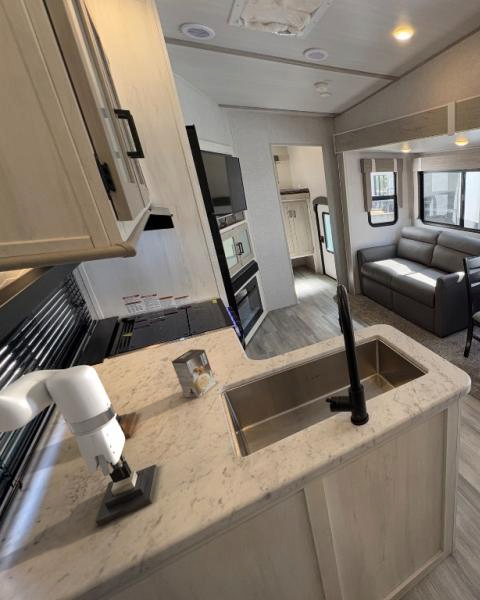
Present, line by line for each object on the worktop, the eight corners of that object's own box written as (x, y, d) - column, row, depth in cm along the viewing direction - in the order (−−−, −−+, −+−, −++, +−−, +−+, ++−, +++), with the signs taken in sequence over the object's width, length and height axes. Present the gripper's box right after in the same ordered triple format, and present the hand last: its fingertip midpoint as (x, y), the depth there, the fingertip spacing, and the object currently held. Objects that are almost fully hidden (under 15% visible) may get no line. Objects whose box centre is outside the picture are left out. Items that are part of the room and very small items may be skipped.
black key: (101, 431, 96) (98, 426, 95) (104, 423, 99) (102, 418, 98) (117, 426, 98) (115, 420, 97) (120, 418, 101) (118, 413, 100)
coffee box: (202, 383, 124) (191, 348, 118) (216, 384, 123) (205, 348, 117) (184, 398, 115) (170, 361, 110) (199, 399, 114) (186, 361, 109)
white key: (114, 496, 74) (111, 490, 73) (118, 484, 77) (114, 478, 77) (135, 488, 76) (132, 482, 75) (137, 476, 79) (135, 470, 78)
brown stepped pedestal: (89, 453, 92) (83, 443, 91) (100, 429, 102) (95, 419, 101) (131, 438, 97) (126, 428, 96) (137, 416, 107) (133, 407, 105)
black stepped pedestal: (99, 528, 71) (92, 516, 69) (111, 488, 80) (105, 477, 79) (152, 504, 75) (147, 493, 74) (158, 469, 85) (153, 459, 84)
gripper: (81, 406, 74) (110, 464, 80) (56, 447, 61) (94, 511, 68) (120, 395, 77) (146, 450, 83) (105, 431, 65) (136, 493, 71)
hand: (123, 477), depth 76 cm, fingers closed
